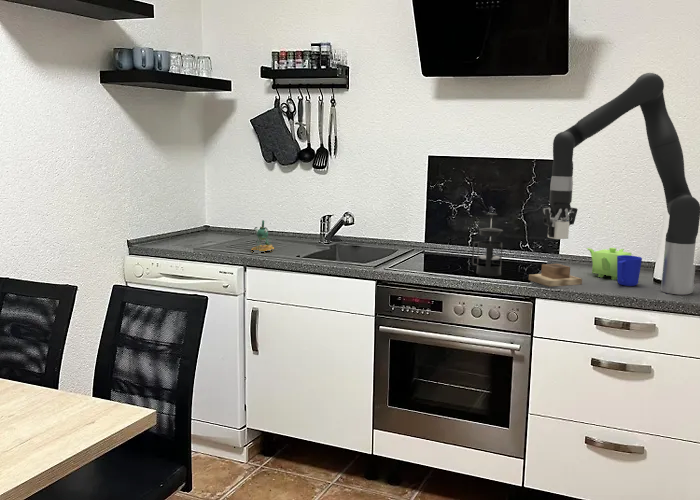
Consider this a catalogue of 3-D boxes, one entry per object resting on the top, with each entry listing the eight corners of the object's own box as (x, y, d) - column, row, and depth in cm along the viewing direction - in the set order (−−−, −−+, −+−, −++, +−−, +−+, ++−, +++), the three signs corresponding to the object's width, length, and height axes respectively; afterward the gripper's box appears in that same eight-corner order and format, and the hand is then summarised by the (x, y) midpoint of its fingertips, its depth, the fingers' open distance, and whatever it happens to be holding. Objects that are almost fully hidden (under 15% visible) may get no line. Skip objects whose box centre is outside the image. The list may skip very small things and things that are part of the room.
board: (560, 277, 259) (560, 272, 258) (581, 284, 248) (582, 278, 247) (528, 279, 254) (528, 274, 253) (549, 286, 243) (549, 281, 242)
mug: (606, 285, 246) (608, 257, 244) (621, 281, 254) (623, 254, 253) (628, 289, 240) (631, 261, 239) (643, 285, 249) (646, 257, 247)
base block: (556, 274, 255) (557, 263, 254) (569, 278, 248) (570, 266, 248) (541, 275, 252) (541, 264, 252) (553, 279, 246) (554, 267, 245)
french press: (503, 272, 267) (507, 212, 264) (502, 276, 258) (505, 215, 255) (473, 270, 270) (475, 211, 267) (470, 274, 262) (473, 213, 258)
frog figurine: (283, 249, 313) (282, 217, 309) (263, 259, 297) (261, 225, 293) (264, 247, 316) (263, 215, 312) (243, 257, 300) (241, 224, 296)
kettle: (584, 273, 269) (586, 244, 267) (620, 273, 269) (622, 245, 268) (599, 281, 254) (602, 250, 252) (637, 281, 255) (640, 251, 253)
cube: (559, 236, 251) (560, 220, 250) (568, 238, 247) (569, 221, 246) (547, 237, 249) (548, 220, 248) (556, 239, 245) (557, 222, 244)
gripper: (551, 190, 239) (547, 239, 242) (584, 189, 244) (581, 237, 247) (537, 188, 246) (534, 236, 249) (570, 188, 251) (567, 234, 254)
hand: (558, 236), depth 248 cm, fingers closed on cube, 5 cm apart
